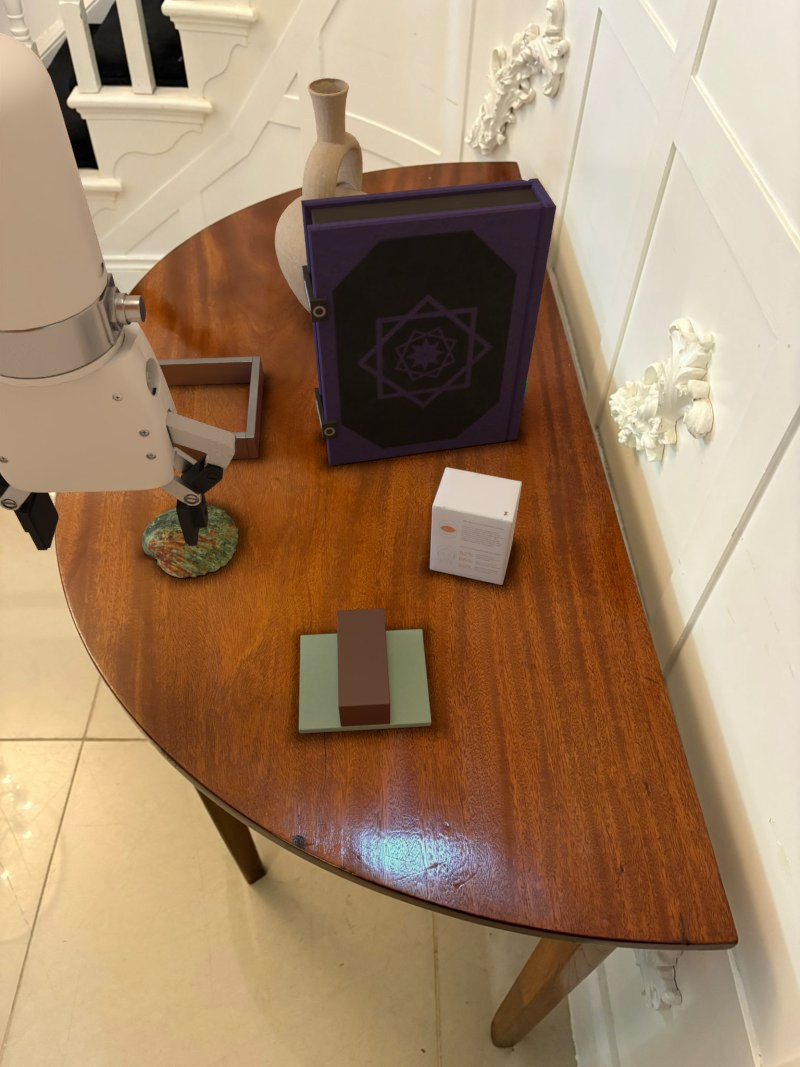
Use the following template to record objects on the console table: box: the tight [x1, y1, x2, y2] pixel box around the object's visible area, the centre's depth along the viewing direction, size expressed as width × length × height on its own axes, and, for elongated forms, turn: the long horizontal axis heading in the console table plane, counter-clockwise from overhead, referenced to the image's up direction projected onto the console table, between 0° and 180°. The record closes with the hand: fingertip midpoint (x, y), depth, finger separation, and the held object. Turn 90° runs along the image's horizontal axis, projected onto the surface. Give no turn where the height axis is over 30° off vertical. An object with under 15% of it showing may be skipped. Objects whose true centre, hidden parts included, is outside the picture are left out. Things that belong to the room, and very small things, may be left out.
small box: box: [429, 466, 523, 586], centre depth 79 cm, size 8×6×10 cm
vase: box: [274, 77, 368, 314], centre depth 100 cm, size 17×17×30 cm
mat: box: [298, 628, 432, 734], centre depth 74 cm, size 12×10×1 cm
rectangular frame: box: [157, 355, 265, 461], centre depth 96 cm, size 17×15×4 cm
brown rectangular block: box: [336, 607, 390, 727], centre depth 72 cm, size 4×10×4 cm, turn 4°
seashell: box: [141, 504, 239, 579], centre depth 83 cm, size 10×4×10 cm
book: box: [301, 177, 557, 466], centre depth 83 cm, size 24×6×30 cm, turn 102°
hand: (122, 531), depth 53 cm, fingers open, 9 cm apart
